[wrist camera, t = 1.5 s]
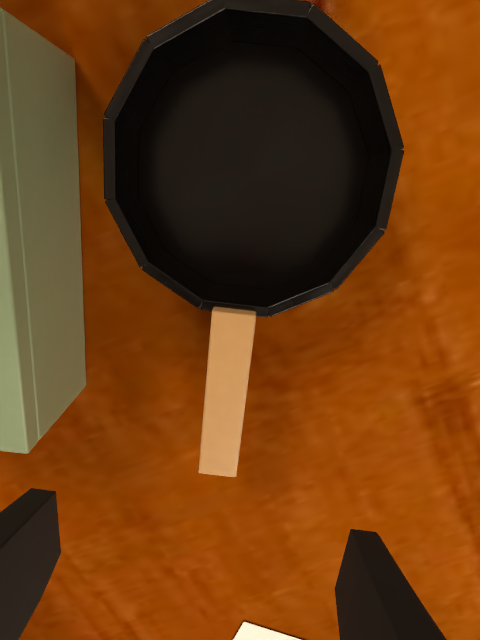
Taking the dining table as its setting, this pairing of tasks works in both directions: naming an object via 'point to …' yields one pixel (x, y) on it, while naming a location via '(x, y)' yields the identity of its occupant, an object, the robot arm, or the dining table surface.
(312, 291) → the pan
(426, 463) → the dining table surface
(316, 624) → the dining table surface
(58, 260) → the shelf
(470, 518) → the dining table surface
